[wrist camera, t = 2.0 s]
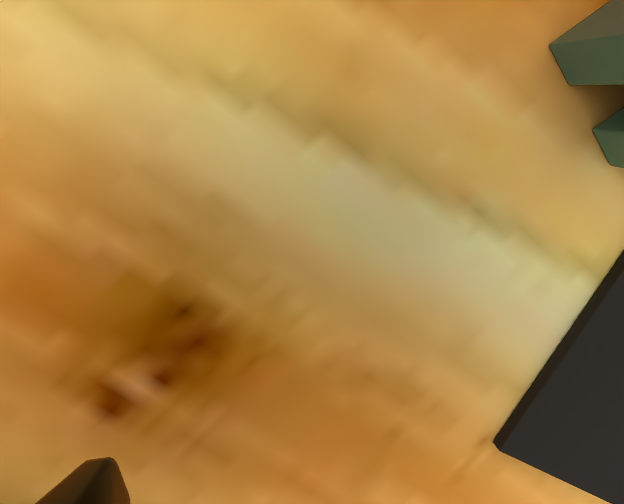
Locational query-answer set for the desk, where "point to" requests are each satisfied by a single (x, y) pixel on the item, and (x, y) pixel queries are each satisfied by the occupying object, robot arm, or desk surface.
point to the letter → (598, 66)
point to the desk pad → (579, 402)
